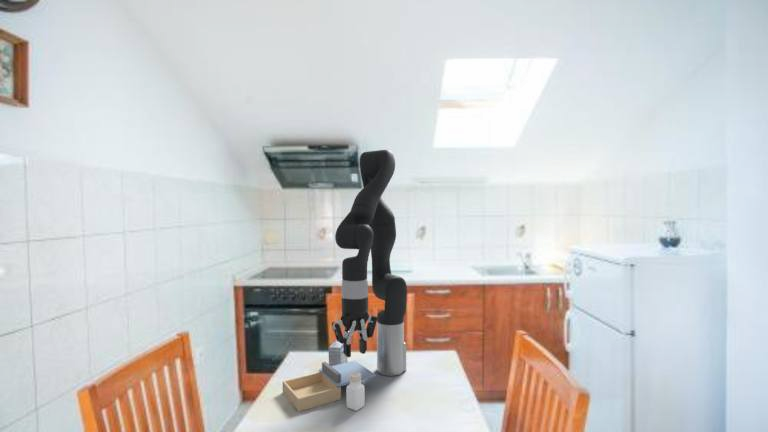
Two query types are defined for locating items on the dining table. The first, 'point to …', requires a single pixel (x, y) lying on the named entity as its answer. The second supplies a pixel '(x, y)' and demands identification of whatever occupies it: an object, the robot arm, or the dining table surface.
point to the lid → (344, 372)
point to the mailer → (310, 391)
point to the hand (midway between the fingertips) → (355, 354)
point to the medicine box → (336, 354)
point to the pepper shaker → (355, 392)
